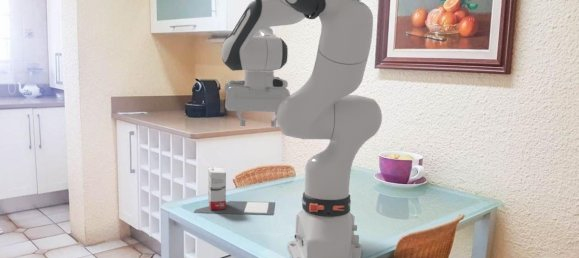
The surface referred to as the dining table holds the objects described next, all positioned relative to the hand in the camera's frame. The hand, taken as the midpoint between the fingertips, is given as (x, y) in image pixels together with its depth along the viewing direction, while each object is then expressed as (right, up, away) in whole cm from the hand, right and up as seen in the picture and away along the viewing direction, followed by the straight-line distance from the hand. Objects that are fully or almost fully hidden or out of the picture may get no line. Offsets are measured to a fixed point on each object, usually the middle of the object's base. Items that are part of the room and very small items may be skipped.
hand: (258, 126), depth 142 cm
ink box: (-13, -25, +3) cm, 29 cm away
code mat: (-7, -26, +3) cm, 27 cm away
